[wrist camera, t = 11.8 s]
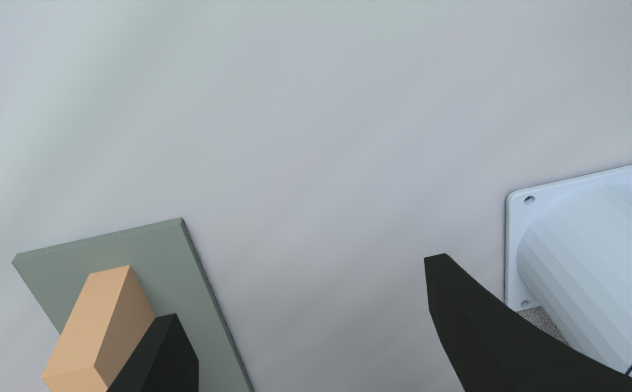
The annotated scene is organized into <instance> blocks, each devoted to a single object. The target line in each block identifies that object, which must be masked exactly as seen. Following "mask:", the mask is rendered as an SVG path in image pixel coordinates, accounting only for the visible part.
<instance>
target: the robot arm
mask: <svg viewBox="0 0 632 392" xmlns="http://www.w3.org/2000/svg"><path fill="white" fill-rule="evenodd" d="M528 196H531V197H530V198H529V199H528V200H526V201H524V200H525V199H526V198H527V197H528ZM424 264H425V274H426V284H427V294H428V304H429V311H430V314H431V317H432V319H433V322H434V325H435V328H436V331H437V333H438V336H439V339H440V341H441V344H442V346H443V348H444V350H445V352H446V354H447V356H448V358H449V360H450V362H451V364H452V366H453V368H454V370H455V372H456V374H457V376H458V378H459V380H460V382H461V384H462V386H463V388H464V390H465V392H632V165H628V166H624V167H620V168H615V169H611V170H606V171H602V172H597V173H593V174H588V175H584V176H579V177H575V178H570V179H566V180H561V181H557V182H552V183H548V184H543V185H539V186H534V187H530V188H525V189H521V190H516V191H514V192H512V193H511V194H509V196H508V197H507V200H506V269H505V304H504V303H503V302H501V301H500V300H499V299H498V298H496V297H495V296H494V295H493V294H491V293H490V292H489V291H488V290H486V289H485V288H484V287H483V286H482V285H480V284H479V283H478V282H477V281H476V280H475V279H474V278H472V277H471V276H470V275H469V274H468V273H467V272H466V271H465V270H464V269H462V268H461V267H460V266H459V265H458V264H457V263H456V262H455V261H454V260H453V259H452V258H451V257H450V256H449V255H447V254H446V253H444V254H439V255H435V256H430V257H426V258H424ZM523 301H524V302H523ZM539 306H542V307H543V309H544V310H545V311H546V313H547V314H548V316H549V317H550V318H551V320H552V321H553V322H554V324H555V325H556V327H557V328H558V329H559V331H560V332H561V334H562V335H563V336H564V338H565V339H566V340H567V342H568V343H569V345H570V346H571V347H572V348H571V347H569V346H567V345H566V344H564V343H562V342H560V341H559V340H557V339H555V338H554V337H552V336H550V335H549V334H547V333H546V332H544V331H542V330H541V329H539V328H538V327H536V326H535V325H533V324H532V323H530V322H529V321H527V320H526V319H524V318H523V317H522V316H520V315H519V314H517V313H516V311H521V310H525V309H530V308H534V307H539ZM106 392H199V360H198V358H197V355H196V353H195V351H194V349H193V347H192V345H191V343H190V341H189V339H188V337H187V335H186V332H185V330H184V328H183V326H182V324H181V322H180V320H179V318H178V316H177V314H176V313H173V314H169V315H164V316H160V317H155V319H154V320H153V322H152V323H151V325H150V326H149V328H148V329H147V331H146V332H145V334H144V336H143V337H142V339H141V340H140V342H139V343H138V345H137V346H136V348H135V349H134V351H133V353H132V354H131V356H130V357H129V359H128V360H127V362H126V363H125V365H124V366H123V368H122V369H121V371H120V372H119V374H118V375H117V377H116V378H115V380H114V381H113V383H112V384H111V385H110V387H109V388H108V389H107V391H106Z"/></svg>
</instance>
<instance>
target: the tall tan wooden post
mask: <svg viewBox="0 0 632 392" xmlns="http://www.w3.org/2000/svg"><path fill="white" fill-rule="evenodd" d="M155 317H156V315H155V313H154V311H153V309H152V307H151V305H150V303H149V301H148V299H147V297H146V295H145V293H144V291H143V289H142V287H141V285H140V284H139V282H138V280H137V278H136V276H135V274H134V272H133V270H132V268H131V266H130V265H128V266H123V267H119V268H114V269H110V270H105V271H101V272H96V273H92V274H89V276H88V278H87V280H86V282H85V284H84V287H83V289H82V291H81V293H80V295H79V297H78V299H77V302H76V304H75V306H74V308H73V310H72V312H71V315H70V317H69V319H68V321H67V323H66V325H65V327H64V330H63V332H62V334H61V336H60V338H59V340H58V342H57V345H56V347H55V349H54V351H53V353H52V355H51V358H50V360H49V362H48V364H47V366H46V368H45V370H44V373H43V375H42V377H41V378H42V380H43V381H44V382H45V384H46V385H47V386H48V388H49V389H50V390H51V392H106V391H107V389H108V388H109V387H110V385H111V384H112V383H113V381H114V380H115V378H116V377H117V375H118V374H119V372H120V371H121V369H122V368H123V366H124V365H125V363H126V362H127V360H128V359H129V357H130V356H131V354H132V353H133V351H134V349H135V348H136V346H137V345H138V343H139V342H140V340H141V339H142V337H143V336H144V334H145V332H146V331H147V329H148V328H149V326H150V325H151V323H152V322H153V320H154V319H155Z"/></svg>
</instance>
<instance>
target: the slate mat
mask: <svg viewBox="0 0 632 392" xmlns="http://www.w3.org/2000/svg"><path fill="white" fill-rule="evenodd" d="M12 264H13V265H14V267H15V268H16V270H17V271H18V273H19V274H20V276H21V277H22V279H23V280H24V282H25V283H26V285H27V286H28V288H29V289H30V291H31V292H32V294H33V295H34V297H35V298H36V300H37V301H38V303H39V304H40V305H41V307H42V308H43V310H44V311H45V313H46V314H47V316H48V317H49V319H50V320H51V322H52V323H53V325H54V326H55V328H56V329H57V331H58V332H59V334H60V335H61V334H62V332H63V330H64V327H65V325H66V323H67V321H68V319H69V317H70V315H71V312H72V310H73V308H74V306H75V304H76V302H77V299H78V297H79V295H80V293H81V291H82V289H83V287H84V284H85V282H86V280H87V278H88V276H89V274H92V273H96V272H101V271H105V270H110V269H114V268H119V267H123V266H128V265H130V266H131V268H132V270H133V272H134V274H135V276H136V278H137V280H138V282H139V284H140V285H141V287H142V289H143V291H144V293H145V295H146V297H147V299H148V301H149V303H150V305H151V307H152V309H153V311H154V313H155V315H156V317H160V316H164V315H169V314H173V313H176V314H177V316H178V318H179V320H180V322H181V324H182V326H183V328H184V330H185V332H186V335H187V337H188V339H189V341H190V343H191V345H192V347H193V349H194V351H195V353H196V355H197V358H198V360H199V392H254V391H253V389H252V387H251V384H250V382H249V379H248V377H247V374H246V372H245V370H244V367H243V365H242V362H241V360H240V357H239V355H238V353H237V350H236V348H235V345H234V343H233V340H232V338H231V336H230V333H229V331H228V328H227V326H226V323H225V321H224V319H223V316H222V314H221V311H220V309H219V306H218V304H217V302H216V299H215V297H214V294H213V292H212V289H211V287H210V285H209V282H208V280H207V277H206V275H205V272H204V270H203V268H202V265H201V263H200V260H199V258H198V256H197V253H196V251H195V248H194V246H193V243H192V241H191V239H190V236H189V234H188V231H187V229H186V226H185V224H184V222H183V219H182V218H177V219H173V220H168V221H164V222H159V223H155V224H151V225H146V226H142V227H137V228H133V229H128V230H124V231H119V232H115V233H110V234H106V235H101V236H97V237H93V238H88V239H84V240H79V241H75V242H70V243H66V244H61V245H57V246H52V247H48V248H43V249H39V250H35V251H30V252H26V253H21V254H17V255H16V256H15V258H14V259H13V261H12Z"/></svg>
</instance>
